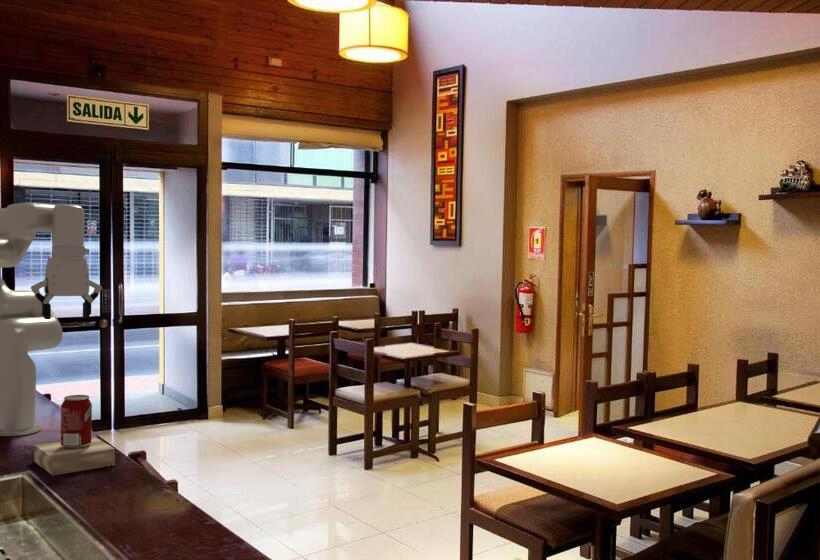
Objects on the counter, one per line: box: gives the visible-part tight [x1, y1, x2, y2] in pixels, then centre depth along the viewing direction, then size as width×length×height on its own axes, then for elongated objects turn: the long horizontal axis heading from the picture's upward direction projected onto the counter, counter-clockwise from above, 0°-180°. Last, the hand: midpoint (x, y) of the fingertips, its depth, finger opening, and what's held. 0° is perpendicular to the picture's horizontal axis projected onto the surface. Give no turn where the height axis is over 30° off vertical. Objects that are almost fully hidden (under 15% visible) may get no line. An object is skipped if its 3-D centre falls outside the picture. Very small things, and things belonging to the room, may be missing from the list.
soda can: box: [60, 394, 93, 449], centre depth 177 cm, size 7×7×12 cm
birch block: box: [33, 436, 116, 476], centre depth 177 cm, size 14×14×4 cm
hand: (66, 318), depth 192 cm, fingers open, 9 cm apart
